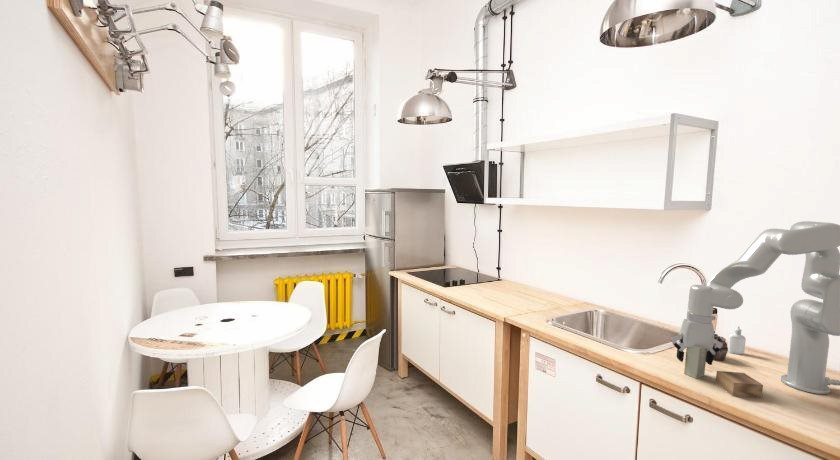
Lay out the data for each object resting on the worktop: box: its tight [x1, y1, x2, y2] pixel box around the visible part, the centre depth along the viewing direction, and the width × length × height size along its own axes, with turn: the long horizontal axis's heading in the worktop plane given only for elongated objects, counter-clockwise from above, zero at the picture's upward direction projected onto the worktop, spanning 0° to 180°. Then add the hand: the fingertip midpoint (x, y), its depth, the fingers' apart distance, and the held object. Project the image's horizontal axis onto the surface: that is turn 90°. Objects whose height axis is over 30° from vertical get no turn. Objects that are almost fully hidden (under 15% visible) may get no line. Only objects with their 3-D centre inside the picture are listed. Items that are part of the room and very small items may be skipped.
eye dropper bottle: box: [727, 325, 747, 355], centre depth 167 cm, size 4×6×12 cm
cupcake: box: [707, 333, 729, 362], centre depth 161 cm, size 10×10×10 cm
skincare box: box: [683, 346, 707, 379], centre depth 144 cm, size 6×4×12 cm
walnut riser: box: [715, 370, 764, 399], centre depth 133 cm, size 9×9×5 cm
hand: (694, 361), depth 144 cm, fingers open, 9 cm apart
